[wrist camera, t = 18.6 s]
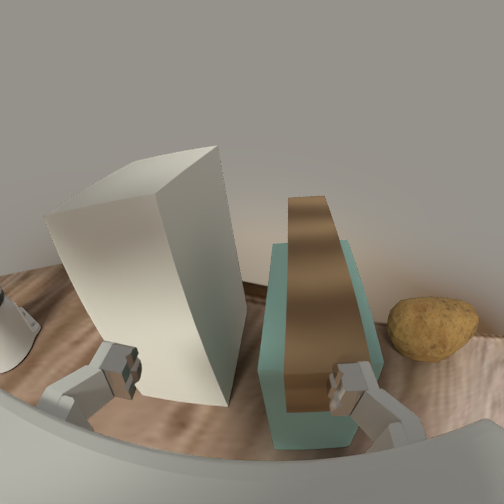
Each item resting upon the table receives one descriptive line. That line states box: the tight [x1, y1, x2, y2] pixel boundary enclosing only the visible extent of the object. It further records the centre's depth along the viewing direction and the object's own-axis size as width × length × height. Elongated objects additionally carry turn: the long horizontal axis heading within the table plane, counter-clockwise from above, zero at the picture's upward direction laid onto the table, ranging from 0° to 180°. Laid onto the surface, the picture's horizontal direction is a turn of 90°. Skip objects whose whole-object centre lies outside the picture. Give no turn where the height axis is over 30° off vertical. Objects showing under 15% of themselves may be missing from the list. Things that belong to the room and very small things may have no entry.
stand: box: [44, 146, 247, 407], centre depth 32 cm, size 12×18×26 cm, turn 173°
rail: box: [283, 196, 372, 413], centre depth 22 cm, size 22×4×4 cm, turn 173°
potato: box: [386, 297, 479, 362], centre depth 30 cm, size 10×14×8 cm
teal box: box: [258, 240, 384, 450], centre depth 27 cm, size 8×16×16 cm, turn 173°
